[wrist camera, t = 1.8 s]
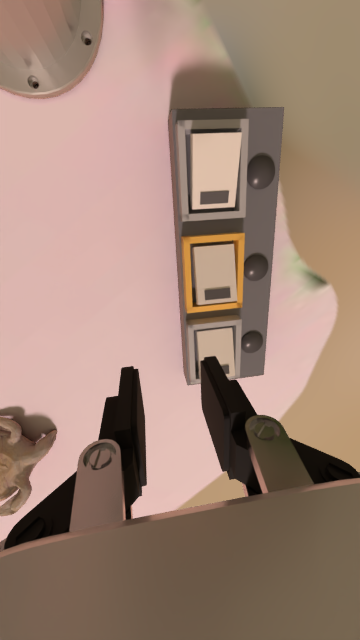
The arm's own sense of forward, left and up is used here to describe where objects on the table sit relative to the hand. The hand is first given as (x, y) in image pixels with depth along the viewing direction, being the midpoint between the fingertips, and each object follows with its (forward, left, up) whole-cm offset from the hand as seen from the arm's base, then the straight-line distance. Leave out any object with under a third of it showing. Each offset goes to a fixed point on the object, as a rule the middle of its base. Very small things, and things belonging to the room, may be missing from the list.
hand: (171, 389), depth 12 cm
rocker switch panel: (-2, +8, -19) cm, 21 cm away
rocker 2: (+7, +6, -15) cm, 17 cm away
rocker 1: (-11, +6, -15) cm, 19 cm away
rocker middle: (-2, +6, -15) cm, 16 cm away
